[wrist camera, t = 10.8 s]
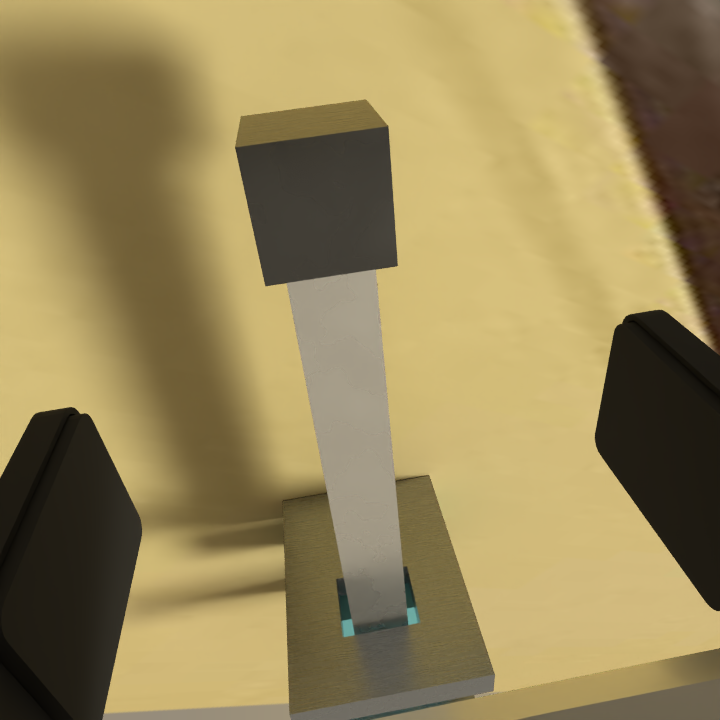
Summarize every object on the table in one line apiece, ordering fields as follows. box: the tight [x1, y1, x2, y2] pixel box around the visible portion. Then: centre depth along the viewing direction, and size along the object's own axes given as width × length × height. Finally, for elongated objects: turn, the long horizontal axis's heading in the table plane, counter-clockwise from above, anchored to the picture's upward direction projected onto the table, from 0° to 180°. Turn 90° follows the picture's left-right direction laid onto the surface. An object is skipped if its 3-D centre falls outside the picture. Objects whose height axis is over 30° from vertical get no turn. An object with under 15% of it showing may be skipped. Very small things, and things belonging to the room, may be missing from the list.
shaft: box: [235, 100, 408, 635], centre depth 29 cm, size 31×5×5 cm, turn 6°
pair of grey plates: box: [283, 476, 495, 720], centre depth 42 cm, size 12×12×16 cm
